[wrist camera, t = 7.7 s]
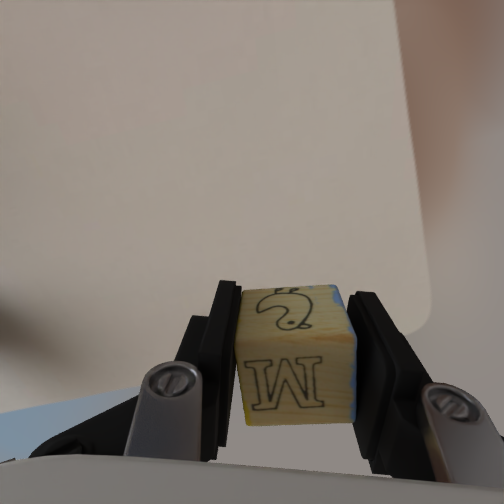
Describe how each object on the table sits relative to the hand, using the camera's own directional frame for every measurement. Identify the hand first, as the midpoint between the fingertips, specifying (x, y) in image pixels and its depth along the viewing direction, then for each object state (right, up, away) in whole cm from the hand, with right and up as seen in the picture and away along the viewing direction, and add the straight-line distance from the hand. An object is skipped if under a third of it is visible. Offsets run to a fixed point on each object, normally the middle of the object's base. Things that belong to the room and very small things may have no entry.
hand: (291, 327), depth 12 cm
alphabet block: (0, 0, 0) cm, 0 cm away
